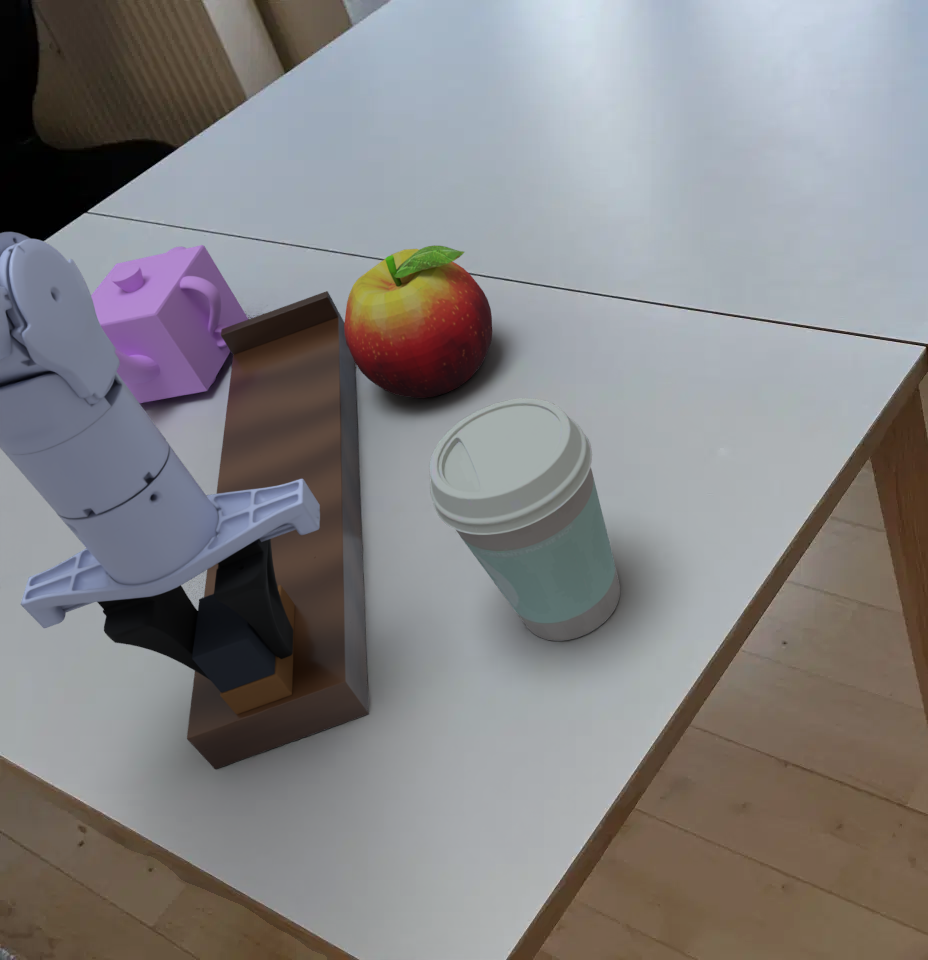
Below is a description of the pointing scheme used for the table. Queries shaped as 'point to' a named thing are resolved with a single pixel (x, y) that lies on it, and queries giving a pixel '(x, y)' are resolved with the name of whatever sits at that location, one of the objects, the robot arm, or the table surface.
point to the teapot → (167, 321)
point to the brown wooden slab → (296, 558)
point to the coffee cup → (530, 513)
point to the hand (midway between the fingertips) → (254, 655)
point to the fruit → (418, 323)
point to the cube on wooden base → (240, 656)
